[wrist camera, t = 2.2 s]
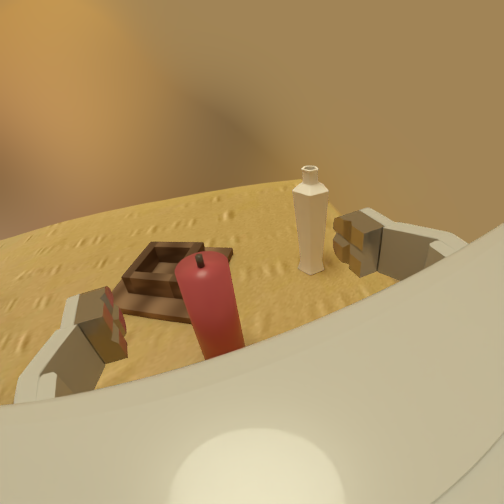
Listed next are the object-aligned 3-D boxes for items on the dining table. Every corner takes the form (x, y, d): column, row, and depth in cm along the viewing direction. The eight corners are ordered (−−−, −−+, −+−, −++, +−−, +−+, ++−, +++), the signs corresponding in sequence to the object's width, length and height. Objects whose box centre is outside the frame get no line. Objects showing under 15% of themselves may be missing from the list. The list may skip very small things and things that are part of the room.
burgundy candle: (202, 375, 29) (162, 271, 22) (214, 344, 33) (184, 240, 25) (242, 381, 28) (216, 274, 21) (251, 349, 32) (232, 241, 24)
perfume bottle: (321, 279, 40) (322, 175, 32) (292, 272, 43) (287, 172, 34) (331, 261, 44) (333, 165, 35) (304, 255, 46) (301, 161, 38)
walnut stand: (104, 309, 39) (93, 289, 37) (150, 250, 52) (144, 231, 50) (200, 324, 36) (192, 301, 34) (233, 253, 49) (229, 231, 46)
